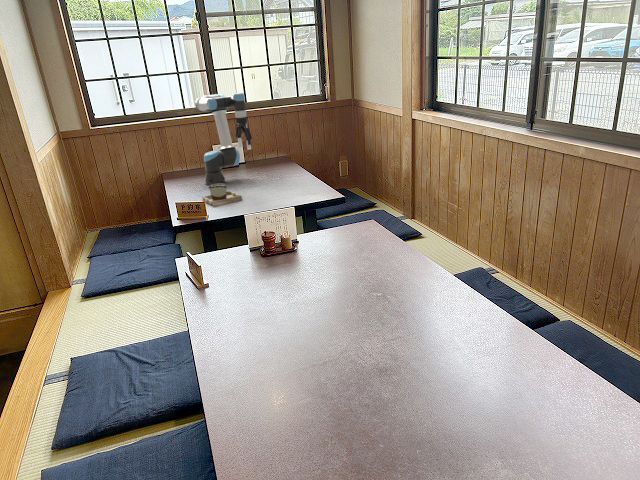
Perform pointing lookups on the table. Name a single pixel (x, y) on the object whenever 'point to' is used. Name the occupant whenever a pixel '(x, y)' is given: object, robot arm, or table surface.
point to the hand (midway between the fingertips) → (245, 148)
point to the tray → (230, 198)
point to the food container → (218, 191)
